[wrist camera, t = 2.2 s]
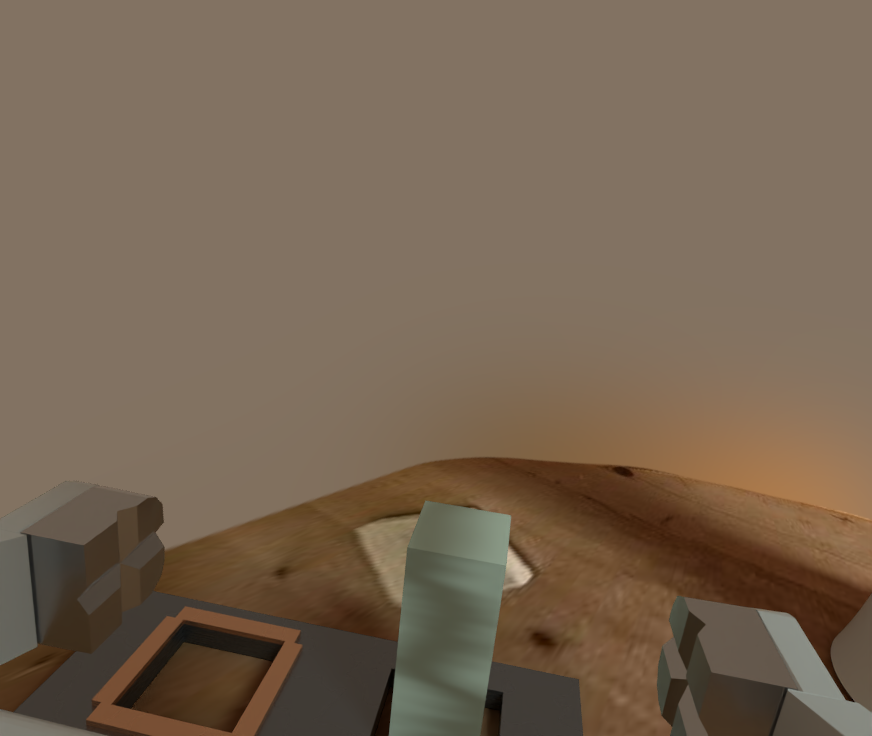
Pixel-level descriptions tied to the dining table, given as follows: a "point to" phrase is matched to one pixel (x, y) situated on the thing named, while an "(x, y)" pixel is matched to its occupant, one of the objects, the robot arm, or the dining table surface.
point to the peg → (448, 620)
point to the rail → (272, 678)
